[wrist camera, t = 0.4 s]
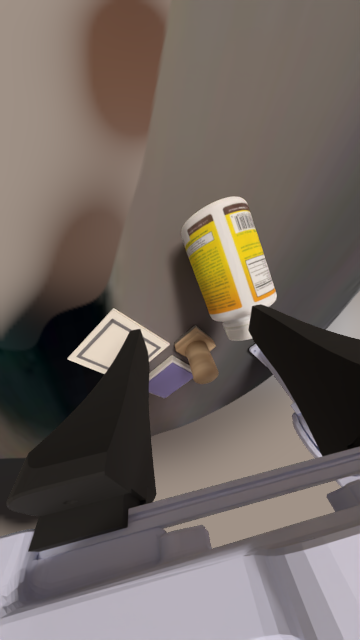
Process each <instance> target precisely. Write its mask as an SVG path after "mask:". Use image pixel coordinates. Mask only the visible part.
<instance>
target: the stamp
mask: <svg viewBox="0 0 360 640" xmlns="http://www.w3.org/2000/svg"><path fill="white" fill-rule="evenodd" d="M174 344H175V348H176V351H177V352H179V353H180V354H182V355H184V356H185V357H187V358H188V361H189V364H190V368H191V371H192V375H193V378H194V381H195V382H196V383H199V384H205V383H209V382H211V381H213V380H214V379H216V378H217V376H218V370H217V367H216V365H215V363H214V361H213V358H212V356H211V354H210V351H211V350H212V349H213V348H215V347H216V345H215V343H214V341H213V339H212V338H211V337H210V336H208V335H207V334H206V333H204V332H203V331H202V330H201V329H199V328H198V327H197V326H196V325H194V326H193V327H192V328H191V329H190V330H188V331H187V332H186V333H185V334H184V335H182V336H181V337H180V338H179V339H178V340H177V341H175V342H174Z"/></svg>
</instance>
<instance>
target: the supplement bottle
mask: <svg viewBox="0 0 360 640" xmlns="http://www.w3.org/2000/svg"><path fill="white" fill-rule="evenodd" d="M181 238H182V241H183V244H184V246H185V249H186V252H187V255H188V257H189V260H190V263H191V265H192V268H193V271H194V273H195V276H196V279H197V282H198V284H199V287H200V289H201V292H202V295H203V298H204V300H205V303H206V306H207V308H208V311H209V314H210V316H211V318H212V319H213V320H215V321H224V322H223V326H224V329H225V331H226V334H227V336H228V338H229V339H230V340H233V341H242V340H248V339H252V336H251V335H250V333H249V331H248V329H249V323H250V316H251V309H252V306H255V305H260V304H262V305H265V306H267V307H269V306H270V305H272V304H273V303H274V302H275V300H276V297H277V295H276V291H275V288H274V284H273V281H272V278H271V275H270V272H269V269H268V266H267V263H266V260H265V257H264V253H263V250H262V247H261V244H260V241H259V238H258V235H257V232H256V229H255V226H254V223H253V220H252V216H251V214H250V210H249V207H248V205H247V202H246V201H245V200H244V199H243V198H241V197H227V198H223V199H220V200H218V201H215V202H213V203H211V204H209V205H207V206H205V207H204V208H202V209H201V210H199V211H198V212H196V213H195V214H194V215H193V216H191V217H190V218H189V219H188V220H187V221H186V223H185V224H184V226H183V228H182V231H181Z"/></svg>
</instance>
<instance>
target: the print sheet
mask: <svg viewBox="0 0 360 640" xmlns="http://www.w3.org/2000/svg"><path fill="white" fill-rule="evenodd" d="M136 329H141V332H142V335H143V338H144V341H145V344H146V347H147V350H148V357H149V362H150V361H151V360H152V359H153V358H154V357H156V356H157V355H158V354H159V353H160V352H162V351H163V350H164V349H165V348H166V347H167V346H169V345H170V344H169V343H168V342H167V341H165V340H163V339H162V338H160V337H159V336H157V335H156V334H154V333H152V332H151V331H149V330H148V329H146V328H144V327H143V326H141V325H140V324H138V323H137V322H135V321H133V320H132V319H130V318H129V317H127V316H126V315H124V314H122V313H121V312H119V311H118V310H116V309H114V308H113V309H112V310H111V311H110V313H109V314H108V315H107V316H106V317H105V318H104V319H103V320H102V321H101V322H100V323H99V324H98V326H97V327H96V328H95V329H94V330H93V331H92V332H91V333H90V334H89V335H88V336H87V337H86V339H85V340H84V341H83V342H82V343H81V344H80V345H79V346H78V347H77V348H76V349H75V350H74V352H73V353H72V354H71V355H70V356H69V357H68V360H70V361H73V362H76V363H78V364H81V365H83V366H86V367H88V368H91V369H93V370H96V371H98V372H101V373H103V374H105V373H106V372H107V370H108V369H109V367H110V366H111V364H112V363H113V361H114V359H115V358H116V356H117V354H118V353H119V351H120V349H121V347H122V345H123V344H124V342H125V340H126V338H127V336H128V334H129V332H130V331H131V330H136Z"/></svg>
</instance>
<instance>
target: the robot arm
mask: <svg viewBox="0 0 360 640" xmlns="http://www.w3.org/2000/svg"><path fill="white" fill-rule="evenodd" d="M248 331H249V333H250V335H251V336H252V338H253V340H254V342H255V343H256V344H255V345H253V346H252V347H250V348H249V350H250V352H251V353H252V354H253V355H254V356H256V357H257V358H258V359H259V360H260V361H261V362H262V363H263V364H264V365H265V366H267V367H268V368H269V370H270V371H271V372H272V374H273V375H274V377H275V378H276V379H277V381H278V382H279V383H280V385H281V386H282V388H283V389H284V390H285V391H286V393H287V394H288V396H289V397H290V398H291V400H292V401H293V404H292V405H291V407H292V408H293V410H294V411H295V413H293V415H292V418H293V425H294V428H295V430H296V432H297V434H298V436H299V437H300V439H301V440H302V442H303V444H304V445H305V446H306V448H307V449H308V450H309V451H310V453H311V454H312V455H313V456H314V457H315V459H311V460H308V461H304V462H300V463H296V464H293V465H289V466H285V467H282V468H278V469H274V470H271V471H267V472H263V473H259V474H256V475H252V476H248V477H244V478H241V479H237V480H233V481H230V482H226V483H222V484H219V485H215V486H211V487H207V488H204V489H200V490H197V491H192V492H189V493H185V494H181V495H178V496H174V497H170V498H166V499H163V500H159V501H155V502H153V500H154V498H155V496H156V487H155V479H154V478H155V477H154V468H153V457H152V447H151V435H150V422H149V404H148V398H149V357H148V350H147V347H146V344H145V341H144V338H143V335H142V332H141V329H136V330H131V331H130V332H129V334H128V336H127V338H126V340H125V342H124V344H123V345H122V347H121V349H120V351H119V353H118V354H117V356H116V358H115V359H114V361H113V363H112V364H111V366H110V367H109V369H108V370H107V372H106V373H105V375H104V376H103V377H102V379H101V380H100V381H99V383H98V384H97V385H96V387H95V388H94V389H93V390H92V391H91V393H90V394H89V395H88V396H87V397H86V398H85V399H84V401H83V402H82V403H81V404H80V405H79V406H78V407H77V408H76V409H75V410H74V411H73V412H72V413H71V414H70V415H69V416H68V417H67V418H66V419H65V420H64V421H63V422H62V423H61V424H60V425H59V426H58V427H57V428H56V429H55V430H54V431H53V432H52V433H51V434H50V435H48V436H47V437H46V438H45V439H44V440H43V441H42V442H41V443H40V444H39V445H37V446H36V447H35V448H34V449H33V450H32V451H31V452H29V454H28V456H27V458H26V460H25V462H24V464H23V466H22V468H21V471H20V473H19V475H18V477H17V480H16V482H15V485H14V487H13V489H12V491H11V493H10V496H9V498H8V500H7V507H8V508H9V509H10V510H12V511H15V512H19V513H24V514H29V515H34V516H38V517H39V519H38V522H37V525H36V528H35V529H28V530H23V531H19V532H15V533H11V534H8V535H4V536H0V640H360V340H359V339H355V338H351V337H347V336H344V335H340V334H337V333H334V332H330V331H327V330H324V329H321V328H318V327H315V326H313V325H310V324H307V323H305V322H302V321H300V320H297V319H295V318H293V317H290V316H288V315H286V314H283V313H281V312H279V311H277V310H274V309H272V308H270V307H267V306H265V305H262V304H260V305H255V306H252V309H251V316H250V323H249V329H248ZM335 480H336V482H337V483H338V484H339V485H340V486H341V487H342V488H340V489H338V490H336V491H333V492H331V493H329V494H327V498H328V500H329V502H330V503H331V505H332V507H333V508H334V510H335V512H334V513H330V514H327V515H324V516H320V517H317V518H313V519H310V520H306V521H303V522H300V523H297V524H293V525H290V526H286V527H283V528H280V529H277V530H273V531H270V532H266V533H263V534H260V535H256V536H253V537H250V538H246V539H243V540H240V541H237V542H233V543H230V544H226V545H223V546H220V547H216V548H213V549H212V548H211V544H210V539H209V533H208V531H207V530H206V529H205V527H204V526H203V525H199V526H194V527H189V528H184V529H180V530H175V531H171V532H168V533H167V532H166V531H165V530H163V529H164V528H167V527H171V526H174V525H178V524H182V523H185V522H189V521H192V520H196V519H199V518H203V517H207V516H210V515H214V514H217V513H221V512H224V511H228V510H231V509H235V508H239V507H242V506H245V505H249V504H253V503H256V502H260V501H264V500H267V499H271V498H274V497H278V496H281V495H285V494H288V493H292V492H296V491H299V490H303V489H306V488H310V487H313V486H317V485H320V484H324V483H328V482H331V481H335Z"/></svg>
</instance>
